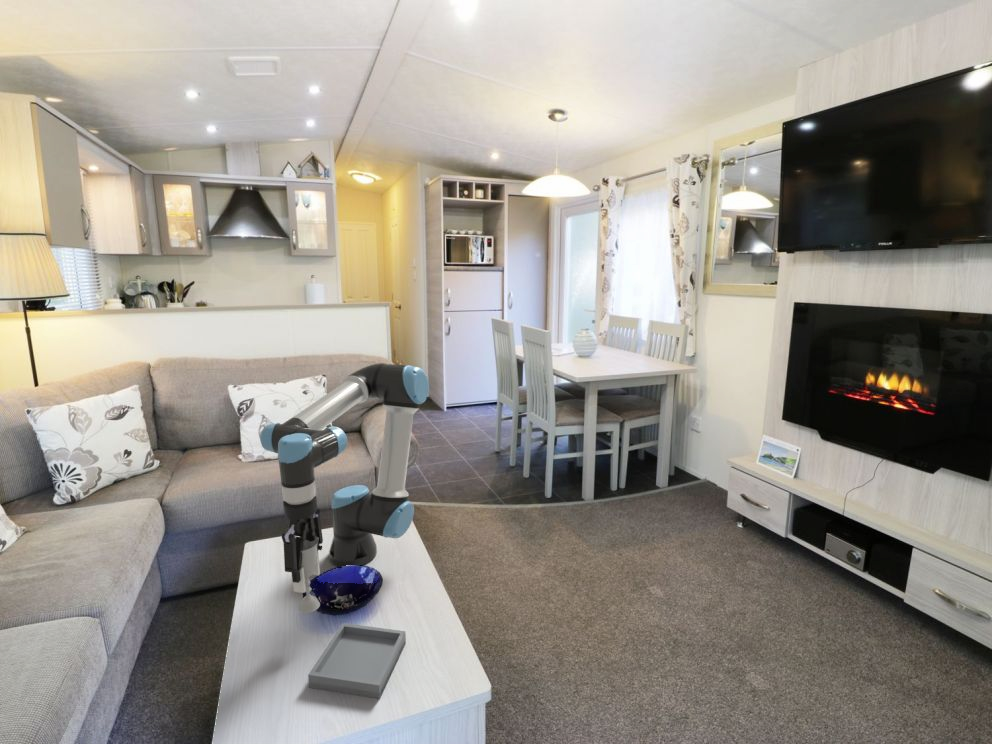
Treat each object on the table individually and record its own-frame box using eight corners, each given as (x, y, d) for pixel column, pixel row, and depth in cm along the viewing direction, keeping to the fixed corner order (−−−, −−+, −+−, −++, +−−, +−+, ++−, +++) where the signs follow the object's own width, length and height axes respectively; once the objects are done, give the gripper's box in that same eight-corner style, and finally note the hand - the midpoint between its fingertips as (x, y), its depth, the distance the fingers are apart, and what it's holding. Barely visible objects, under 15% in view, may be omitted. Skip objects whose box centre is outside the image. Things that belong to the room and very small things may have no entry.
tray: (343, 634, 131) (342, 623, 130) (405, 643, 128) (405, 631, 127) (309, 687, 114) (308, 674, 114) (380, 698, 112) (379, 685, 111)
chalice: (313, 618, 123) (307, 552, 119) (288, 614, 125) (282, 549, 121) (329, 598, 130) (324, 536, 126) (305, 595, 132) (299, 533, 128)
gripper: (306, 479, 131) (313, 558, 136) (260, 516, 112) (270, 606, 117) (333, 481, 129) (339, 561, 135) (291, 519, 111) (300, 610, 116)
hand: (307, 582), depth 126 cm, fingers closed on chalice, 6 cm apart
